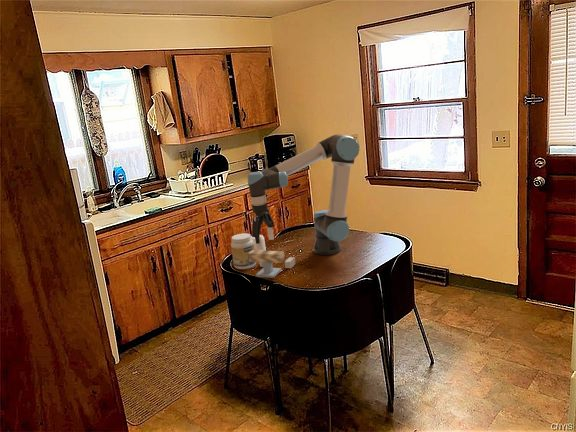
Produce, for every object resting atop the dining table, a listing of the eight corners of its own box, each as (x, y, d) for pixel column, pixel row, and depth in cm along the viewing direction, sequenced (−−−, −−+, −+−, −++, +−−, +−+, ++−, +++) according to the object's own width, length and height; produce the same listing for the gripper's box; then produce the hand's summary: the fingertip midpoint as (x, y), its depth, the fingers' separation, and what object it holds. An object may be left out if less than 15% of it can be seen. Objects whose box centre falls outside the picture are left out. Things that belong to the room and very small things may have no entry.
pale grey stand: (281, 270, 240) (280, 257, 238) (273, 277, 232) (271, 264, 230) (264, 269, 244) (262, 256, 242) (255, 276, 236) (253, 263, 234)
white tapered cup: (264, 258, 259) (261, 238, 256) (250, 259, 261) (247, 239, 258) (268, 253, 267) (265, 233, 263) (254, 254, 268) (251, 234, 265)
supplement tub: (250, 270, 245) (246, 240, 240) (230, 269, 249) (225, 240, 245) (260, 261, 255) (256, 232, 251) (240, 261, 260) (236, 232, 255)
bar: (284, 259, 234) (283, 251, 233) (281, 263, 230) (280, 254, 229) (253, 258, 242) (252, 250, 241) (249, 261, 238) (248, 253, 237)
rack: (295, 263, 247) (294, 257, 246) (290, 268, 241) (289, 262, 240) (265, 262, 254) (264, 256, 253) (259, 266, 248) (259, 260, 247)
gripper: (263, 197, 240) (269, 235, 246) (240, 211, 219) (247, 253, 225) (276, 196, 237) (282, 235, 243) (254, 211, 216) (261, 253, 221)
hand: (265, 244), depth 234 cm, fingers open, 13 cm apart
